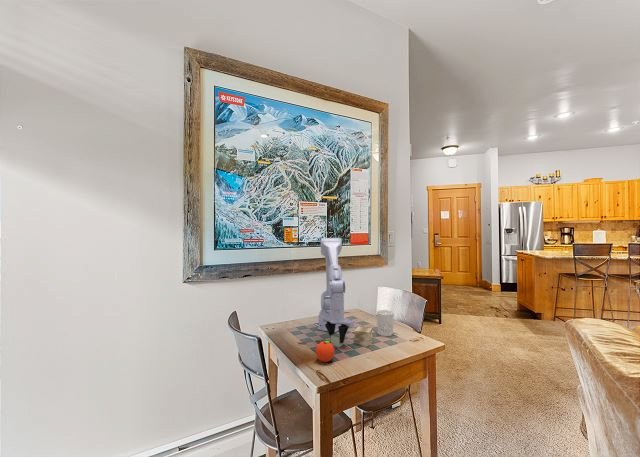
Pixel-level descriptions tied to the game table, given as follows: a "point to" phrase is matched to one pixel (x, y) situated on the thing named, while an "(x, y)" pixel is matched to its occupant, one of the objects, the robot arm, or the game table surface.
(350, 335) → the game table surface
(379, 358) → the game table surface
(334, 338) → the cube
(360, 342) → the slab lower
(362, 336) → the slab upper
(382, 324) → the white cup
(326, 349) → the clementine
